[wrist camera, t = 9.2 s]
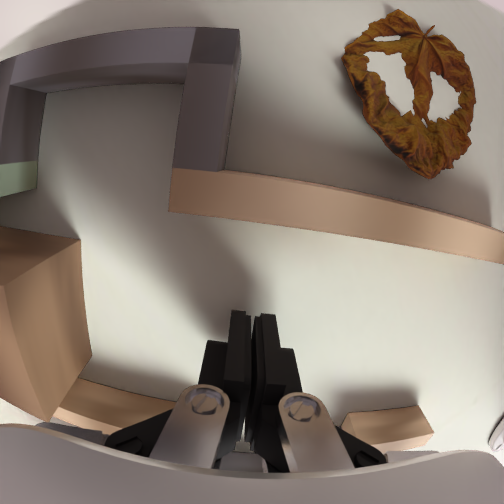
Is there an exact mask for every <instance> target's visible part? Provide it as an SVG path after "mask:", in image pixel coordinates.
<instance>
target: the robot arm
mask: <svg viewBox="0 0 504 504" xmlns="http://www.w3.org/2000/svg"><path fill="white" fill-rule="evenodd" d="M244 419H245V442H250V450H251V451H254V452H256V453H257V454H258V455H260V456H261V457H262V467H263V472H264V473H259V472H240V471H228V470H220V467H221V463H222V458H223V456H225V455H227V454H228V453H230V452H231V451H233V450H234V448H235V443H236V441H240V439H241V434H242V429H243V424H244ZM489 446H490V448H491V450H492V451H499V450H502V449H503V448H504V418H503V419H502V420H501V422H500V423H499V425H498V426H497V428H496V429H495V431H494V432H493V434H492V436H491V438H490V441H489ZM0 504H504V467H503V466H502V464H501V463H500V462H499V461H498V460H497V459H496V458H495V457H494V456H493V455H491V454H489V453H487V452H483V451H478V450H454V451H447V452H438V451H386V453H382V452H381V451H379V450H378V449H376V448H375V447H373V446H371V445H369V444H367V443H366V442H364V441H362V440H360V439H358V438H356V437H355V436H353V435H351V434H349V433H348V432H346V431H344V430H342V429H341V428H339V427H337V426H336V425H334V424H333V422H332V420H331V418H330V416H329V413H328V411H327V409H326V407H325V405H324V404H323V403H322V401H321V400H319V399H318V398H317V397H315V396H313V395H311V394H307V393H303V391H302V387H301V382H300V377H299V373H298V368H297V363H296V359H295V354H294V350H293V349H290V348H281V347H280V340H279V334H278V328H277V321H276V315H274V314H264V313H261V315H260V317H258V316H255V319H254V325H253V331H252V338H251V316H249V315H246V311H237V310H232V311H231V320H230V329H229V337H228V342H219V341H212V340H208V341H207V344H206V349H205V353H204V358H203V363H202V367H201V372H200V377H199V382H198V385H193V386H190V387H188V388H187V389H185V390H184V391H183V392H182V393H181V395H180V397H179V399H178V401H177V403H176V405H175V407H174V408H172V409H170V410H168V411H166V412H163V413H161V414H158V415H156V416H154V417H151V418H149V419H146V420H144V421H141V422H139V423H136V424H133V425H131V426H128V427H126V428H123V429H120V430H118V431H116V432H114V433H112V434H111V435H108V434H103V431H99V430H92V429H84V428H78V427H72V426H66V425H60V424H55V423H50V422H42V423H39V424H37V425H35V426H33V425H25V424H13V423H9V424H0Z"/></svg>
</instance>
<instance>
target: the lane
mask: <svg viewBox="0 0 504 504" xmlns="http://www.w3.org/2000/svg"><path fill="white" fill-rule="evenodd" d="M240 62H241V48H240V33H239V29H228V28H209V27H168V28H149V29H137V30H127V31H119V32H111V33H105V34H99V35H93V36H87V37H82V38H77V39H73V40H68V41H64V42H60V43H56V44H52V45H49V46H45V47H42V48H38V49H35V50H32V51H29V52H25V53H23V54H20V55H17V56H14V57H11V58H8V59H6V60H3V61H1V62H0V197H2V196H6V195H10V194H14V193H18V192H22V191H27V190H31V189H36V188H37V165H38V151H39V140H40V131H41V123H42V116H43V110H44V104H45V98H46V93H49V92H55V91H61V90H68V89H76V88H84V87H94V86H105V85H120V84H149V83H169V84H184V90H183V96H182V102H181V108H180V114H179V121H178V128H177V135H176V142H175V150H174V159H173V167H172V177H171V187H170V197H169V209H168V212H176V213H185V214H193V215H202V216H210V217H218V218H226V219H234V220H242V221H249V222H257V223H264V224H272V225H279V226H286V227H293V228H300V229H307V230H313V231H320V232H327V233H333V234H340V235H346V236H352V237H359V238H365V239H371V240H377V241H383V242H389V243H394V244H400V245H406V246H412V247H417V248H423V249H428V250H434V251H439V252H444V253H450V254H455V255H460V256H465V257H470V258H475V259H480V260H485V261H490V262H495V263H500V264H504V232H503V231H500V230H498V229H495V228H493V227H490V226H487V225H484V224H480V223H477V222H474V221H471V220H468V219H464V218H461V217H458V216H454V215H451V214H447V213H444V212H440V211H437V210H433V209H429V208H425V207H422V206H418V205H414V204H410V203H406V202H402V201H398V200H394V199H389V198H385V197H381V196H376V195H372V194H367V193H363V192H358V191H353V190H348V189H343V188H338V187H333V186H328V185H322V184H317V183H311V182H306V181H300V180H294V179H288V178H281V177H275V176H268V175H261V174H254V173H246V172H239V171H230V170H224V168H225V160H226V153H227V146H228V139H229V132H230V125H231V118H232V111H233V105H234V98H235V92H236V86H237V80H238V74H239V68H240ZM176 403H177V402H173V401H167V400H162V399H157V398H152V397H148V396H143V395H139V394H134V393H130V392H126V391H122V390H118V389H115V388H111V387H107V386H104V385H100V384H97V383H93V382H90V381H87V380H84V379H81V378H78V377H77V379H76V380H75V382H74V383H73V385H72V386H71V388H70V389H69V391H68V392H67V394H66V396H65V397H64V399H63V400H62V402H61V403H60V405H59V406H58V408H57V410H56V411H55V413H54V414H53V417H56V418H58V419H60V420H63V421H65V422H68V423H70V424H73V425H76V426H78V427H81V428H84V429H92V430H99V431H103V434H108V435H111V434H112V433H114V432H116V431H118V430H120V429H123V428H126V427H128V426H131V425H133V424H136V423H139V422H141V421H144V420H146V419H149V418H151V417H154V416H156V415H158V414H161V413H163V412H166V411H168V410H170V409H172V408H174V407H175V405H176ZM340 428H341V429H342V430H344V431H346V432H348V433H349V434H351V435H353V436H355V437H356V438H358V439H360V440H362V441H364V442H366V443H367V444H369V445H371V446H373V447H375V448H376V449H378V450H379V451H381V452H382V453H386V451H403V450H407V449H412V448H416V447H420V446H424V445H425V444H426V443H427V442H428V440H429V439H430V438H431V437H432V435H433V434H434V431H433V430H432V428H431V426H430V424H429V423H428V421H427V419H426V417H425V416H424V414H423V412H422V411H421V409H420V407H419V405H418V406H412V407H405V408H397V409H388V410H379V411H367V412H353V413H348V414H347V416H346V418H345V420H344V422H343V423H342V425H341V427H340ZM220 470H228V471H240V472H259V473H264V472H263V467H262V457H261V456H260V455H258V454H256V453H240V452H230V453H228V454H227V455H225V456H223V458H222V463H221V467H220Z"/></svg>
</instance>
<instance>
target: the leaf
mask: <svg viewBox="0 0 504 504" xmlns="http://www.w3.org/2000/svg"><path fill="white" fill-rule="evenodd" d="M434 27H435V25H434V26H432V27H431V28H430V29H429V30H427V32H426V33H425V34H424V33H423V32H422V31H421V30H420V28H419V26H418V23H417V22H416V20H415V19H413V18H412V17H410V16H408V15H407V14H405V13H404V12H402V11H401V10H399V9H397V10H395V11H394V12H392V13H389V14H387V17H386V18H385V19H382V18H381V19H380V20H378V21H374V22H373V23H370V24H369V28H368V30H366V31H365V32H362V35H361V36H360V37H359V38H357V39H356V40H355V41H354V42H353V43H351V44H349V45H347V46H346V47H345V48H344V49H345V54H344V55H343V57H342V58H341V59H342V61H343V63H344V66H345V67H346V69H347V72H348V75H349V77H350V80H351V82H352V85H353V87H354V89H355V91H356V93H357V95H358V96H359V97H360V98H361V100H362V102H363V116H364V118H365V120H366V121H367V123H368V124H369V125H370V126H371V128H372V129H373V130H374V131H375V132H376V133H377V134H378V135H379V136H380V137H381V139H382V140H383V142H384V143H385V145H386V146H387V147H388V148H389V149H390V150H391V151H392V152H393V153H394V154H395V155H396V156H398V157H399V158H401V159H402V160H403V161H404V162H405V163H406V165H407V166H408V168H410V169H411V170H412V171H414V172H416V173H418V174H419V175H421V176H423V177H425V178H427V179H432V178H434V177H436V175H437V174H439V173H440V171H441V170H444V169H445V168H446V169H451V168H452V169H453V168H454V167H453V163H452V162H453V161H454V160H458V159H460V155H464V153H465V152H466V151H467V149H468V147H469V146H470V145H471V144H472V143H471V140H470V138H469V137H468V136H467V135H468V132H470V131H471V126H470V124H471V122H472V121H473V120H472V119H473V107H474V104H475V103H476V98H475V89H474V84H473V79H472V76H471V72H470V68H469V66H468V65H467V64H466V62H465V61H464V60H465V59H464V54H463V53H462V52H461V51H458V50H457V49H456V47H455V46H454V44H453V43H452V42H451V41H450V40H449V39H448V38H446V37H445V36H443V35H432V36H429V37H427V34H428V33H429V32H430V31H431V30H432V29H433V28H434ZM394 35H399V36H401V38H400V40H395V41H386V42H383V41H379V42H377V41H375V40H374V38H375V37H378V36H383V37H384V36H394ZM369 51H372V52H376V51H377V52H384V53H385V54H386V55H391V54H395V53H397V52H399V53H402V55H401V57H402V59H403V60H404V61H405V63H406V66H405V73H406V77H407V78H408V79H410V81H411V84H412V86H413V89H414V100H413V101H412V102H413V109H414V112H415V115H414V116H413V114H412V112H411V110H410V111H409V112H407V113H406V114H404V115H403V116H400V112H399V111H398V110H397V109H396V108H395V106H393V105H392V104H391V103H390V101H389V99H388V98H389V97H388V96H387V95H386V91H385V86H386V84H385V82H384V81H382V80H381V79H380V76H379V75H378V74H377V73H376V72H368V71H366V70H367V64H366V63H368V62H369V58H368V57H367V56H365V55H363V54H365V53H366V52H369ZM431 71H433V72H435V73H436V74H437V75H440V74H441V75H442V77H443V79H446V80H447V81H448V83H449V85H451V86H452V87H454V89H455V91H456V92H459V93H460V91H461V94H460V95H459V96H458V104H459V105H460V106H461V107H462V109H461V108H458V111H456V110H454V114H453V113H452V115H450V116H449V117H450V118H449V119H447V118H446V119H447V120H443V119H442V118H438V119H437V122H436V123H435V122H433V121H432V120H430V121H429V119H428V116H427V113H428V111H429V104H430V100H431V98H432V95H433V90H432V84H431V82H432V80H431V78H430V72H431ZM422 118H424V120H425V122H426V124H427V126H428V127H427V128H426V127H425V125H424V124H423V122H422V121H421V120H422Z"/></svg>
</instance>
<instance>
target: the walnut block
mask: <svg viewBox="0 0 504 504" xmlns="http://www.w3.org/2000/svg"><path fill="white" fill-rule="evenodd" d="M91 357H92V352H91V346H90V340H89V333H88V327H87V319H86V311H85V302H84V291H83V279H82V262H81V240H79V239H73V238H67V237H61V236H55V235H49V234H43V233H37V232H31V231H25V230H20V229H14V228H8V227H3V226H0V398H2V399H4V400H5V401H7V402H9V403H11V404H12V405H14V406H16V407H18V408H20V409H22V410H23V411H25V412H27V413H29V414H31V415H33V416H35V417H37V418H39V419H41V420H43V421H45V422H49V421H50V419H51V418H52V416H53V414H54V413H55V411H56V410H57V408H58V406H59V405H60V403H61V402H62V400H63V399H64V397H65V396H66V394H67V392H68V391H69V389H70V388H71V386H72V385H73V383H74V382H75V380H76V379H77V377H78V376H79V374H80V373H81V371H82V370H83V368H84V367H85V366H86V364H87V363H88V361H89V360H90V358H91Z"/></svg>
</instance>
